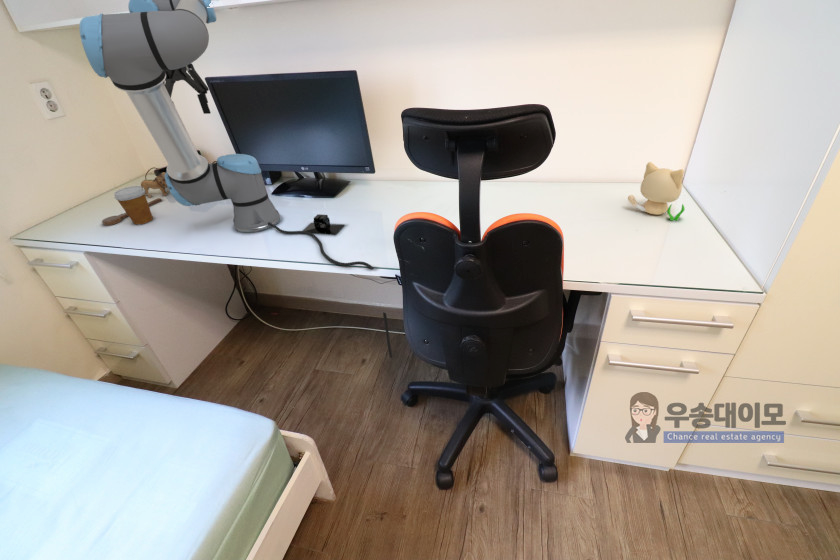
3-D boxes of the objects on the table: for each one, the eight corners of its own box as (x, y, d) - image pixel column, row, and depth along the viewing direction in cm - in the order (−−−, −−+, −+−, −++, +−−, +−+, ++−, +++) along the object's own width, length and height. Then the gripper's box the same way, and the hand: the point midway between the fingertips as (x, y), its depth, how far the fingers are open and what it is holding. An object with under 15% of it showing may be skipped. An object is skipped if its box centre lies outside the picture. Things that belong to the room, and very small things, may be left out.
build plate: (301, 233, 128) (297, 220, 125) (312, 223, 133) (308, 210, 131) (335, 235, 124) (332, 221, 122) (345, 225, 130) (342, 212, 128)
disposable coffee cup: (123, 224, 144) (106, 193, 138) (148, 214, 151) (133, 184, 144) (138, 228, 140) (122, 196, 134) (163, 217, 147) (148, 187, 140)
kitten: (689, 215, 118) (705, 166, 110) (670, 225, 114) (686, 175, 105) (641, 201, 129) (653, 155, 120) (623, 210, 124) (634, 163, 116)
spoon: (165, 201, 162) (164, 197, 161) (110, 226, 144) (108, 222, 143) (155, 200, 164) (153, 196, 163) (99, 224, 146) (97, 221, 145)
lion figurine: (178, 190, 173) (169, 170, 168) (175, 194, 168) (166, 173, 163) (142, 195, 170) (132, 175, 165) (137, 199, 166) (127, 179, 161)
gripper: (189, 46, 139) (211, 110, 151) (124, 53, 120) (155, 125, 132) (205, 45, 137) (226, 110, 148) (141, 52, 118) (171, 125, 129)
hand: (192, 117), depth 140 cm, fingers open, 13 cm apart
